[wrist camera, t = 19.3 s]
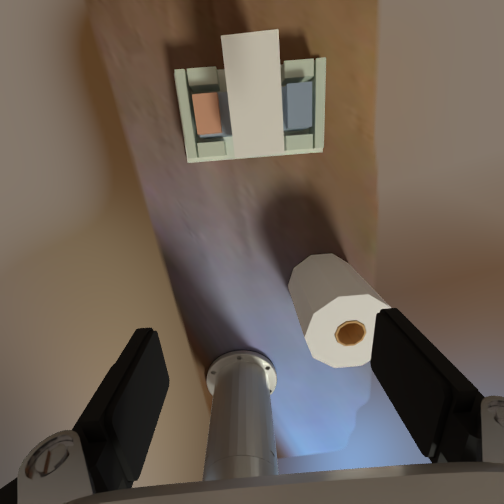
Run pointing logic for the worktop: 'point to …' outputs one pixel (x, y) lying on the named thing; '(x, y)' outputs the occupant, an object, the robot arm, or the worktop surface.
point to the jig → (216, 82)
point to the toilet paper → (335, 310)
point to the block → (254, 92)
